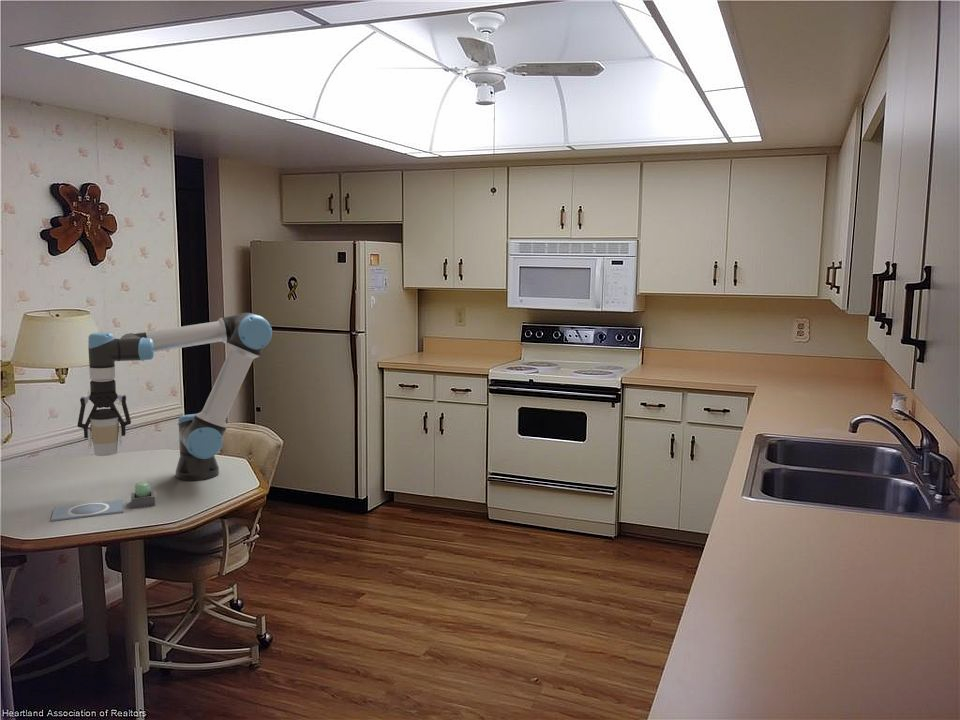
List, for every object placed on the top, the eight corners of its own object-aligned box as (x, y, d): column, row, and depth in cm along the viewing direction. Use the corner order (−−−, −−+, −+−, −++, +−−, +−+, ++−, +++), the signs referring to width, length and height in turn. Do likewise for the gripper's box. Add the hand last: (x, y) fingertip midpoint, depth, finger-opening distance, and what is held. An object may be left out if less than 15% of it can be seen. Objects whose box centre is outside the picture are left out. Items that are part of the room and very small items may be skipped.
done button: (149, 493, 250) (149, 481, 250) (150, 497, 246) (149, 485, 246) (135, 494, 248) (134, 483, 248) (135, 498, 244) (134, 486, 244)
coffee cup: (87, 457, 246) (85, 412, 244) (94, 450, 254) (92, 407, 252) (117, 456, 248) (115, 411, 246) (123, 449, 256) (121, 406, 254)
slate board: (123, 501, 250) (123, 499, 250) (123, 512, 239) (122, 510, 239) (54, 509, 241) (54, 507, 241) (51, 521, 230) (50, 519, 230)
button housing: (154, 499, 252) (154, 490, 252) (155, 505, 246) (154, 496, 246) (131, 501, 249) (131, 493, 249) (131, 508, 243) (131, 499, 243)
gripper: (138, 376, 255) (140, 441, 258) (67, 379, 247) (70, 446, 250) (137, 380, 248) (140, 446, 252) (64, 382, 240) (68, 451, 243)
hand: (105, 446), depth 251 cm, fingers closed on coffee cup, 8 cm apart
